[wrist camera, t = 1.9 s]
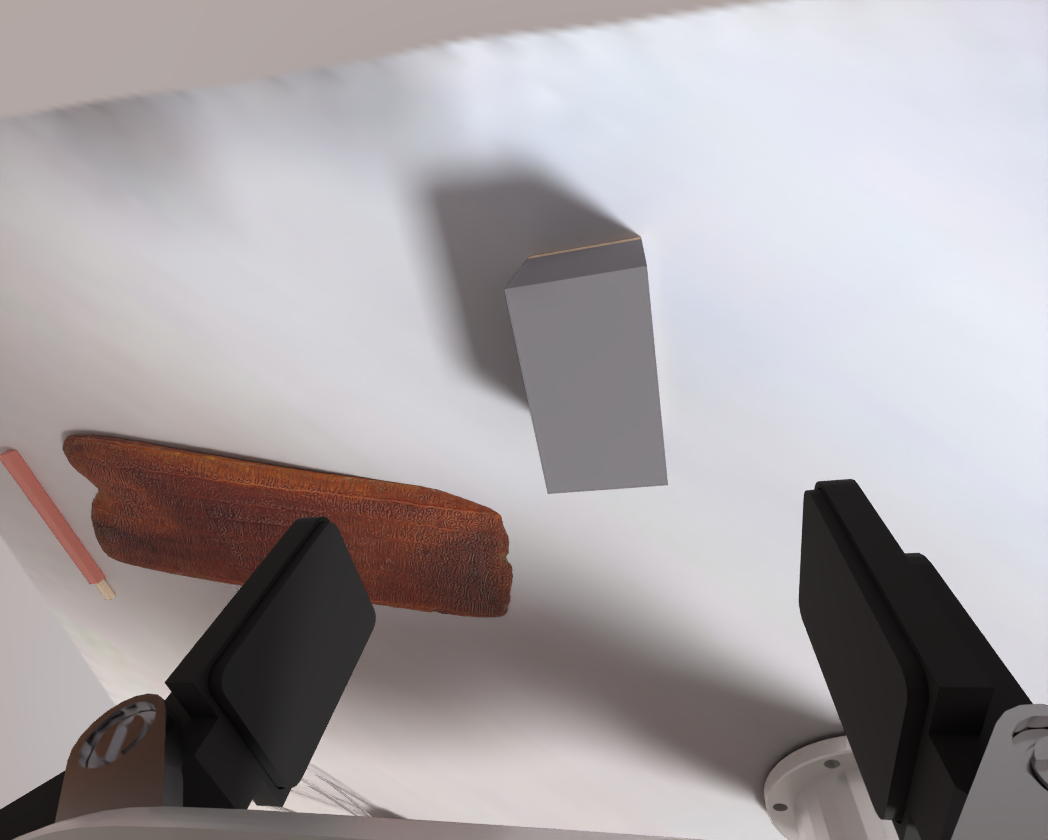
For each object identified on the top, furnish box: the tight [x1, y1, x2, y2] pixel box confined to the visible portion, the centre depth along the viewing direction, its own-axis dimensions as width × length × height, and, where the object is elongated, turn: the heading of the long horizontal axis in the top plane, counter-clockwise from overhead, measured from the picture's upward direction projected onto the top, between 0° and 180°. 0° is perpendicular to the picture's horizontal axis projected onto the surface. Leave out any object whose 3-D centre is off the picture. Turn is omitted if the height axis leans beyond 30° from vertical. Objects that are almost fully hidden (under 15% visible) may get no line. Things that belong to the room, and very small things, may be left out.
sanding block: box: [504, 237, 668, 494], centre depth 21 cm, size 4×8×6 cm, turn 12°
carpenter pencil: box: [0, 450, 115, 600], centre depth 34 cm, size 1×12×1 cm, turn 11°
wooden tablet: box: [63, 435, 513, 617], centre depth 31 cm, size 27×10×2 cm, turn 86°
